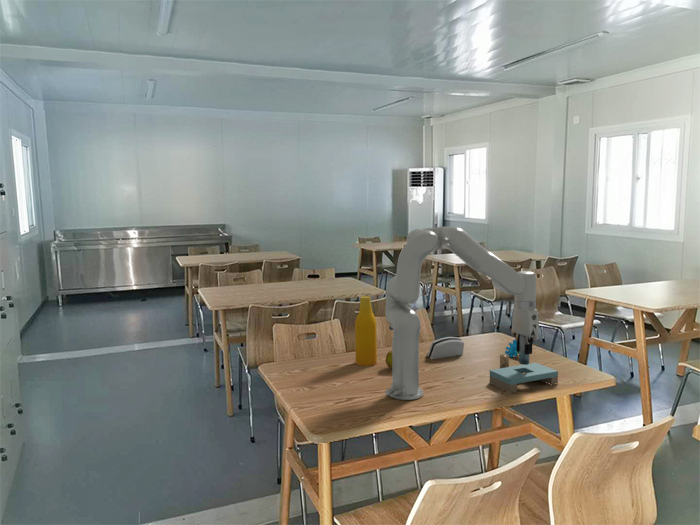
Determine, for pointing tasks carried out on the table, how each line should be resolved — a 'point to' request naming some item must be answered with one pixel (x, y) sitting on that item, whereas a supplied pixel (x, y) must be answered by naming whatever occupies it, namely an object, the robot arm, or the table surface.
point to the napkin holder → (445, 348)
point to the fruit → (389, 359)
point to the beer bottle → (366, 334)
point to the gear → (512, 349)
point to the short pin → (504, 361)
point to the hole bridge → (521, 376)
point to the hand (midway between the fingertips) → (524, 352)
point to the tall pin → (523, 351)
